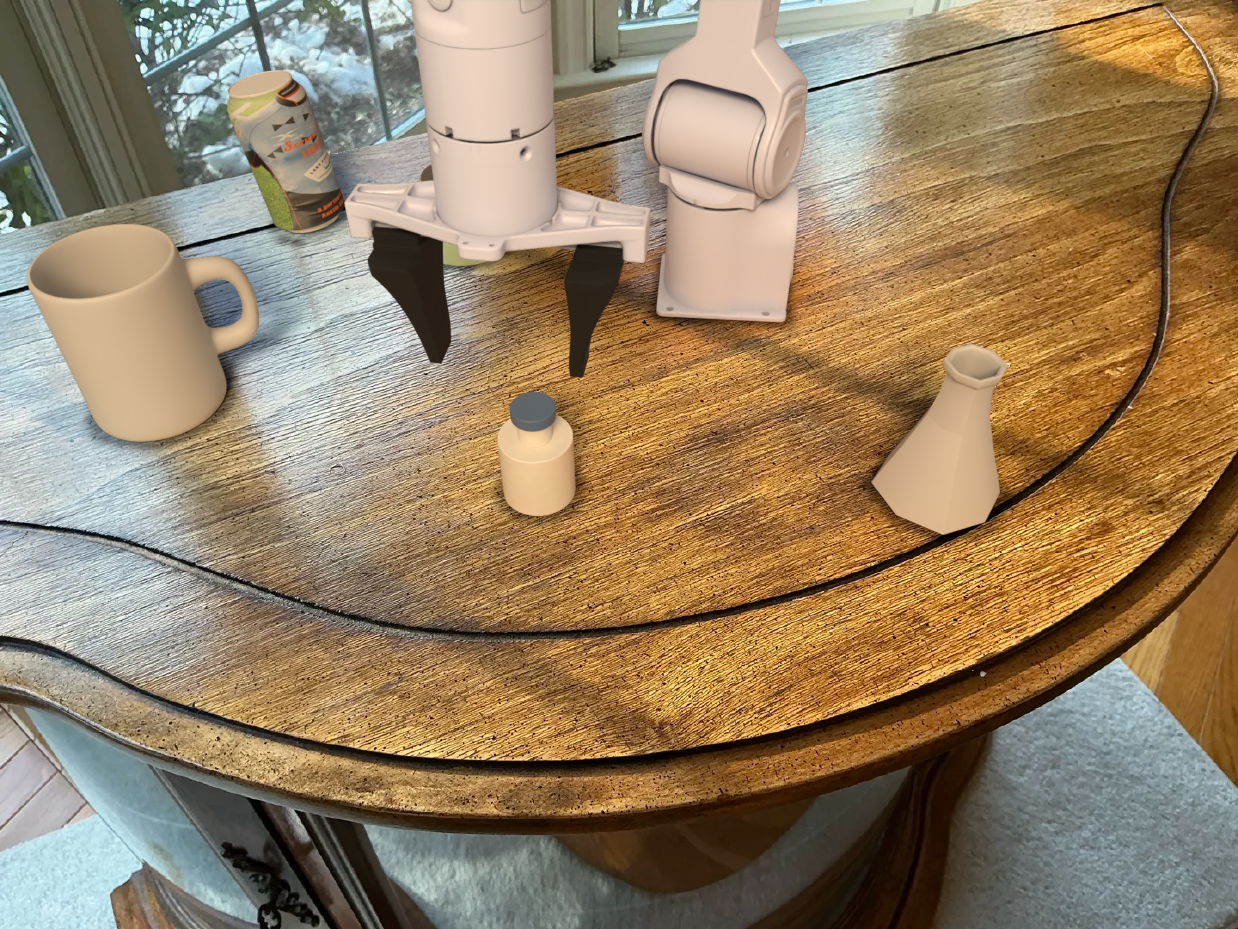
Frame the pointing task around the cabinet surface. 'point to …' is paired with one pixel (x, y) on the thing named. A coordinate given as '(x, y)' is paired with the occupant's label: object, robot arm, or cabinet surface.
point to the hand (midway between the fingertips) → (509, 359)
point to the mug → (139, 327)
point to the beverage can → (285, 151)
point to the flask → (949, 450)
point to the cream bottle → (536, 456)
